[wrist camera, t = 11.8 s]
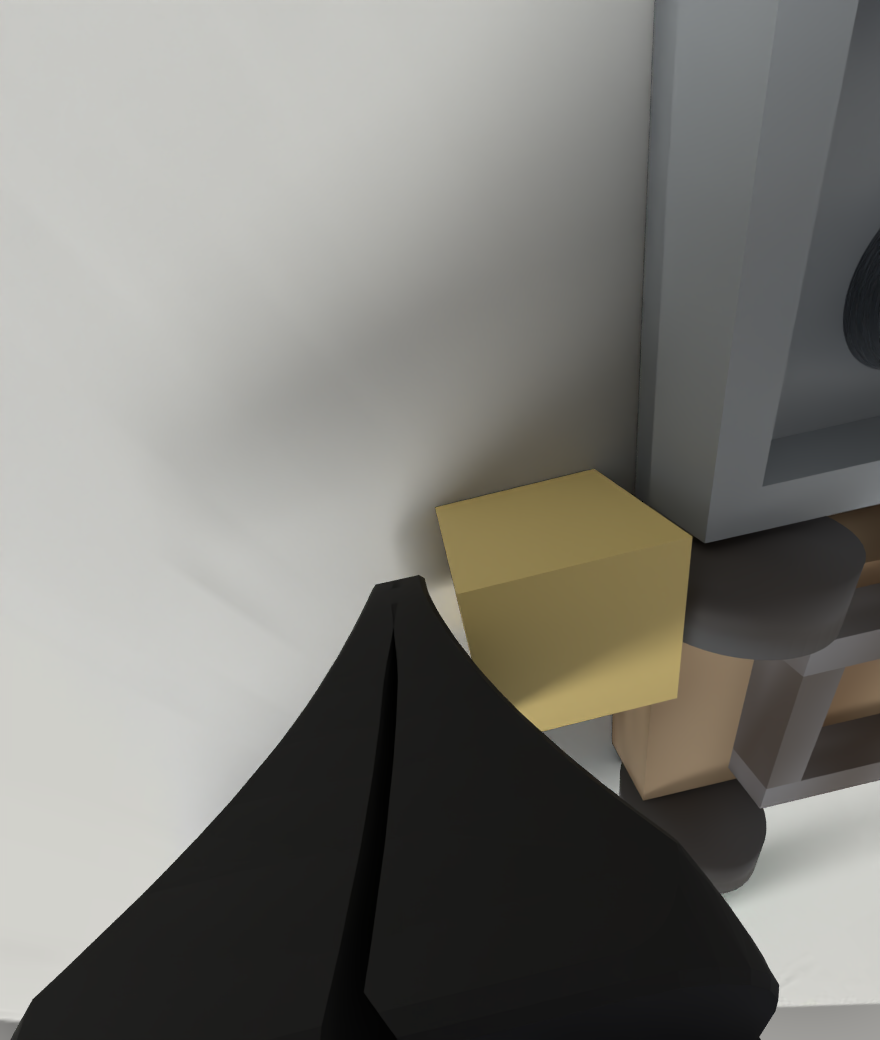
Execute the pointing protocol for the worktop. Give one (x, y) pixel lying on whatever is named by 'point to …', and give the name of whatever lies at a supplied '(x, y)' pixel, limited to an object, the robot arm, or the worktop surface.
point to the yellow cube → (570, 596)
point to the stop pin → (864, 308)
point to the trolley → (762, 689)
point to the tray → (758, 263)
